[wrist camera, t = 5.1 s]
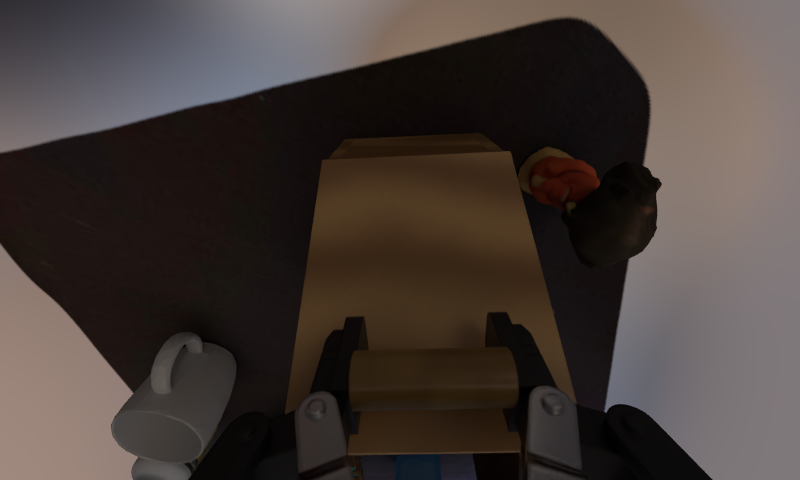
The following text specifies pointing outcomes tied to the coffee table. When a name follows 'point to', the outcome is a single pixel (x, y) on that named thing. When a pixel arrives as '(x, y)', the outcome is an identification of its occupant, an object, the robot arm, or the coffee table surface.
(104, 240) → the coffee table surface
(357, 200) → the lid
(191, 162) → the coffee table surface
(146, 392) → the mug
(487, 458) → the tall pedestal column
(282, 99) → the coffee table surface
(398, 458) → the perfume bottle
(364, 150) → the chest
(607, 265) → the figurine
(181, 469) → the pill bottle
